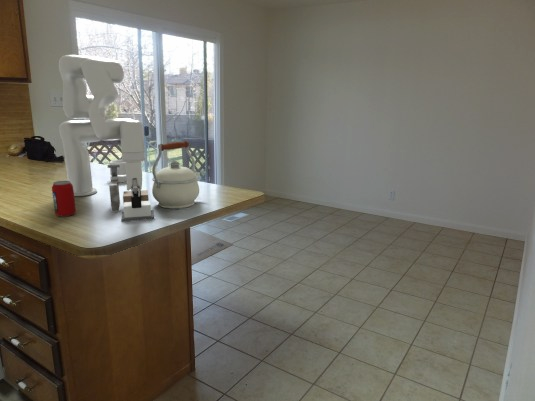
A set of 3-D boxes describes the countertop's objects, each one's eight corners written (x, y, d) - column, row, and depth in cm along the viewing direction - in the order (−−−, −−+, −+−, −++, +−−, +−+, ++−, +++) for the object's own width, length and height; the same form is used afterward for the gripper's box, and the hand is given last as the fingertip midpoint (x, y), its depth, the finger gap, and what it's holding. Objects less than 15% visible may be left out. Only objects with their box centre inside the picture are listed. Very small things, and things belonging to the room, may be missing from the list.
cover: (124, 217, 134) (123, 206, 133) (125, 212, 140) (124, 202, 139) (151, 215, 137) (150, 204, 136) (150, 211, 142) (150, 200, 141)
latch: (108, 180, 149) (107, 165, 147) (109, 179, 152) (107, 164, 150) (127, 179, 151) (125, 165, 149) (127, 178, 154) (126, 163, 152)
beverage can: (60, 211, 143) (56, 180, 139) (79, 211, 143) (75, 180, 140) (52, 217, 136) (47, 184, 133) (71, 217, 137) (67, 184, 134)
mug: (106, 181, 195) (104, 161, 192) (121, 177, 205) (119, 158, 202) (127, 183, 190) (125, 163, 188) (141, 179, 200) (140, 160, 197)
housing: (111, 212, 142) (108, 186, 140) (113, 203, 155) (111, 179, 152) (149, 210, 146) (147, 184, 144) (148, 201, 159) (146, 177, 156)
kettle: (173, 214, 142) (169, 146, 135) (139, 206, 151) (134, 143, 145) (216, 200, 162) (215, 140, 156) (184, 194, 171) (182, 137, 165)
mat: (121, 221, 133) (121, 219, 132) (122, 214, 141) (122, 212, 141) (154, 219, 136) (154, 216, 136) (153, 211, 144) (153, 209, 144)
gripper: (122, 153, 140) (126, 198, 144) (120, 161, 124) (124, 211, 128) (144, 152, 142) (147, 197, 146) (145, 160, 126) (148, 210, 131)
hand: (136, 204), depth 137 cm, fingers open, 9 cm apart
